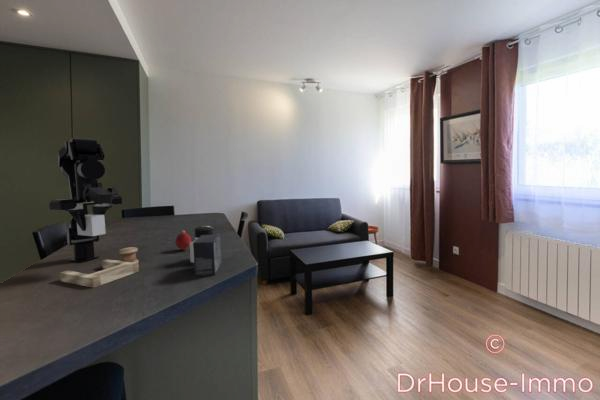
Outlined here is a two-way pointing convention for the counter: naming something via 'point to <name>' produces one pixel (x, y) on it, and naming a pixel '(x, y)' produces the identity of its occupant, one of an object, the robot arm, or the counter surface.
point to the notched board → (101, 273)
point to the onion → (183, 240)
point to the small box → (207, 255)
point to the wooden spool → (129, 254)
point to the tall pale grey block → (93, 225)
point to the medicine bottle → (198, 232)
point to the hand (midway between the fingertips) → (91, 229)
